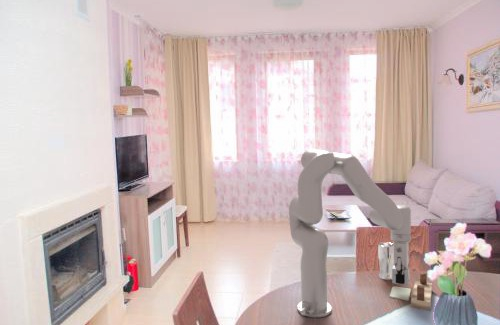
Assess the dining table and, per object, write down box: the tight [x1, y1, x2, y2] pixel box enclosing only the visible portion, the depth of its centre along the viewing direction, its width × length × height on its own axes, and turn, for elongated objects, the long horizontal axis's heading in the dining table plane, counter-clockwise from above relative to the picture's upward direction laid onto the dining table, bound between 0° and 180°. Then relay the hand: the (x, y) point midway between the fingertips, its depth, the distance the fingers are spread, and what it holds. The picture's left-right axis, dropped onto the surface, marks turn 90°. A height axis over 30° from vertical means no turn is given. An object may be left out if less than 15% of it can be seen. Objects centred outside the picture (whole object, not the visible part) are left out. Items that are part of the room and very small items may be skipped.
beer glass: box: [377, 241, 394, 281], centre depth 172 cm, size 7×7×15 cm
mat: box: [389, 286, 412, 301], centre depth 156 cm, size 10×7×1 cm
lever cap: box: [391, 264, 410, 286], centre depth 155 cm, size 4×6×7 cm
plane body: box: [410, 272, 433, 311], centre depth 151 cm, size 18×6×8 cm, turn 153°
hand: (400, 280), depth 155 cm, fingers closed on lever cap, 4 cm apart
